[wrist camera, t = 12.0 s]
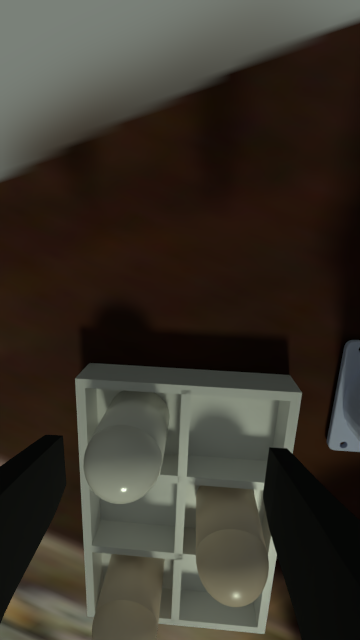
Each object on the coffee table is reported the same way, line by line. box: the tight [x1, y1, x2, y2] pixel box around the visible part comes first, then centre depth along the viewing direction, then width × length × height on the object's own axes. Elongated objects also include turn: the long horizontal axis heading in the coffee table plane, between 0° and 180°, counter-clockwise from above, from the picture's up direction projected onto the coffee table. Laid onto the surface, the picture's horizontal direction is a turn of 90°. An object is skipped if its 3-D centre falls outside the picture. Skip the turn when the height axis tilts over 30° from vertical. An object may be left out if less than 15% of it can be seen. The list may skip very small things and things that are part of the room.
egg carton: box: [75, 363, 302, 640], centre depth 20 cm, size 14×20×7 cm
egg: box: [84, 390, 170, 504], centre depth 18 cm, size 4×4×7 cm
